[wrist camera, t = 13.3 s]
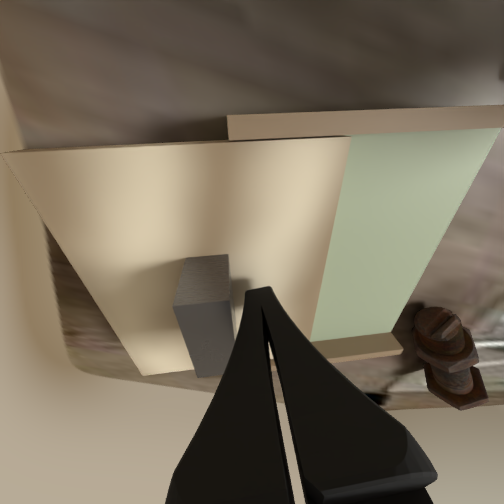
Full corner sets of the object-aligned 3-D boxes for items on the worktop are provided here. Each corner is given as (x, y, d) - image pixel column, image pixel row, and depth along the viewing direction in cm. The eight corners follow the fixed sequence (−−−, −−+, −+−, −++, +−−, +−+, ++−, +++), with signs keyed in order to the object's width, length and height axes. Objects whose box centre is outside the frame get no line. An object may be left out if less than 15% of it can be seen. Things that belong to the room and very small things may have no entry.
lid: (339, 134, 8) (413, 146, 5) (302, 342, 16) (322, 400, 13) (24, 149, 8) (-133, 174, 4) (147, 361, 15) (125, 428, 12)
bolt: (411, 286, 21) (433, 351, 28) (385, 325, 20) (415, 383, 27) (497, 311, 16) (498, 383, 23) (469, 365, 15) (479, 423, 22)
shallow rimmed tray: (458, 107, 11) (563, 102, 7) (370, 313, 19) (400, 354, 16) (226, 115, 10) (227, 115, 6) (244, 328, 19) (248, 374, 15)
